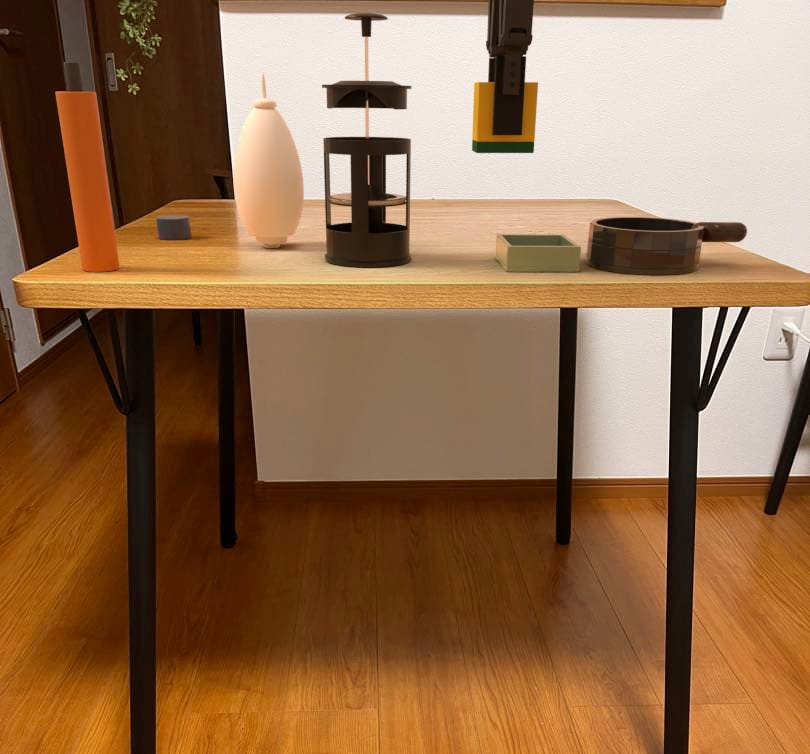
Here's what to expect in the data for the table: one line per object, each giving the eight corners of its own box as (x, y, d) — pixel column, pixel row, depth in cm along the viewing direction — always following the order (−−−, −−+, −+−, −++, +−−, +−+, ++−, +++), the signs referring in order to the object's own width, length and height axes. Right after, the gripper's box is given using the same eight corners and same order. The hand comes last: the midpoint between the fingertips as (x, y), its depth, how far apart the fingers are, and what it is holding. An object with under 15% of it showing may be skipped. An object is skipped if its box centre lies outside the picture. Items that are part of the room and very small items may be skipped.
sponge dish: (578, 272, 90) (581, 246, 89) (506, 271, 90) (507, 246, 88) (562, 258, 97) (564, 234, 96) (495, 257, 97) (496, 234, 96)
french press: (403, 270, 90) (406, 8, 79) (314, 266, 91) (305, 8, 80) (418, 252, 100) (422, 18, 90) (338, 249, 101) (333, 18, 91)
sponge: (527, 150, 87) (531, 82, 84) (533, 153, 84) (538, 82, 81) (471, 150, 87) (474, 82, 84) (476, 153, 83) (478, 82, 81)
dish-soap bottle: (122, 265, 91) (95, 63, 82) (116, 271, 87) (87, 62, 79) (86, 265, 90) (55, 62, 82) (79, 272, 87) (46, 61, 79)
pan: (600, 275, 89) (605, 231, 87) (576, 255, 99) (579, 216, 97) (713, 275, 89) (720, 232, 87) (677, 256, 99) (683, 217, 97)
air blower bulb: (309, 242, 106) (303, 73, 98) (301, 252, 99) (293, 72, 91) (245, 241, 106) (233, 72, 98) (232, 251, 99) (218, 71, 91)
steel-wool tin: (198, 237, 108) (196, 216, 107) (172, 241, 106) (170, 220, 104) (177, 234, 111) (175, 214, 109) (151, 237, 108) (149, 217, 107)
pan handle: (692, 243, 92) (695, 223, 91) (685, 240, 94) (688, 220, 93) (748, 243, 92) (751, 223, 91) (740, 240, 94) (744, 221, 93)
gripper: (463, -148, 81) (456, 131, 92) (486, -203, 66) (474, 137, 77) (543, -147, 82) (527, 131, 92) (584, -201, 67) (559, 137, 77)
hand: (503, 133), depth 85 cm, fingers closed on sponge, 4 cm apart
